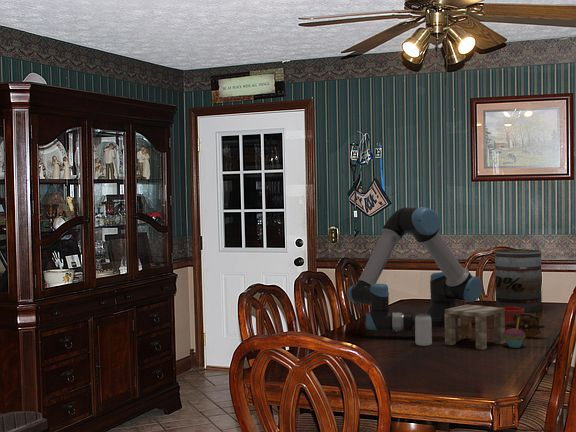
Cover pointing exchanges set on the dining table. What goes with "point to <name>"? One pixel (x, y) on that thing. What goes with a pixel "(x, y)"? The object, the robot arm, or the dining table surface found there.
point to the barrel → (518, 279)
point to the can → (423, 330)
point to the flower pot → (511, 313)
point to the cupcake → (514, 336)
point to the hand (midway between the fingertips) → (460, 322)
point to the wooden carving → (526, 324)
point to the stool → (480, 318)
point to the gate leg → (463, 327)
